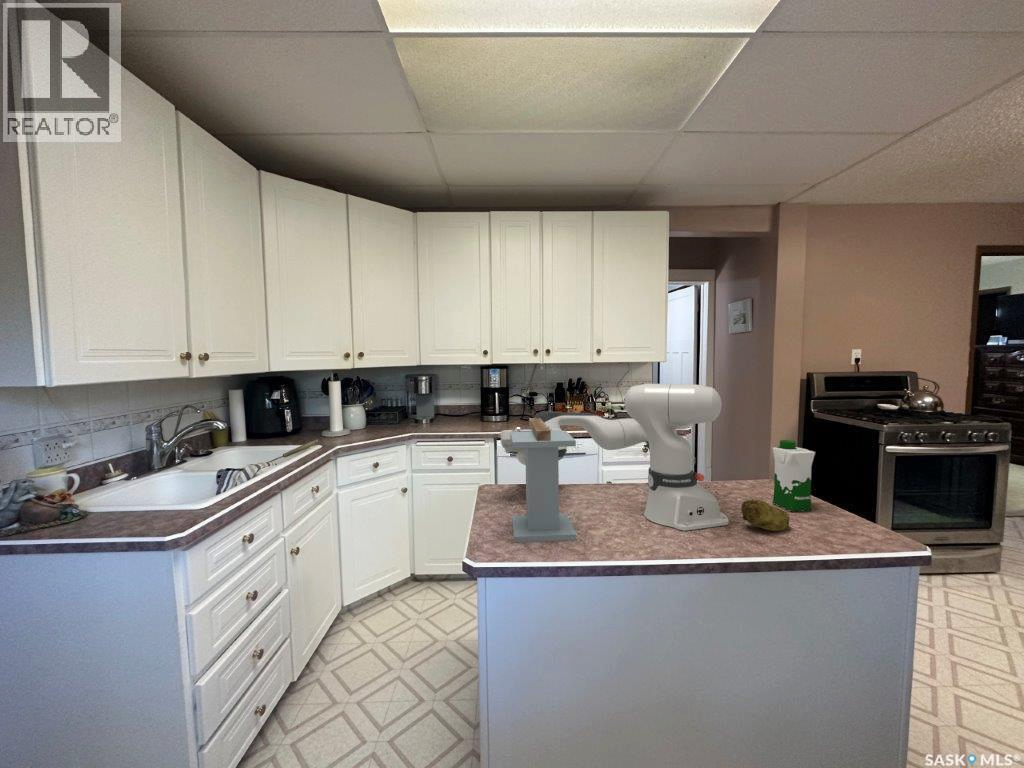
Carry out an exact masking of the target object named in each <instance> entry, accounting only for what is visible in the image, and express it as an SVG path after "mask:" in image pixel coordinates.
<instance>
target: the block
mask: <svg viewBox="0 0 1024 768" xmlns="http://www.w3.org/2000/svg"><path fill="white" fill-rule="evenodd" d="M528 427H529V428H530V429H529V430H532V432H533V434H534V436H535V438H536V440H537V441H549V440H551V431H550V429H549V428H548V427H547V426H546V424H545V423H544V422H543V421H542V419H541V418H534V417H532V418H531V417H529V418H528Z"/></svg>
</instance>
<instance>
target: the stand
mask: <svg viewBox="0 0 1024 768" xmlns="http://www.w3.org/2000/svg"><path fill="white" fill-rule="evenodd" d="M510 437H511V442H512V446H513V448H525V456H526V465H525V501H526V502H525V503H526V505H525V506H526V512H525V513H526V514H517V515H515V514H514V515H511V524H512V531H513V540H514V543H534V542H558V541H559V542H560V541H562V542H563V541H564V542H565V541H577V539H578V538H577V533H576V531H575V529H574V526H573V524H572V522H571V520H570V518H569V516H568V513H567V512H566V513H560V501H559V500H560V491H559V490H560V488H559V486H560V484H559V483H560V482H559V481H560V480H559V477H560V473H559V472H560V471H559V461H558V447H566V448H567V447H569V448H572V447H576V446H577V444H576V443H577V440H576V439H575V438H574V437H573V436H572V435H571V434H570V433H568V432H567V430H562V431H551V440H549V441H537V440H536V438H535V436H534V434H533V432H510Z"/></svg>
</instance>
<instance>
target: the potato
mask: <svg viewBox="0 0 1024 768" xmlns="http://www.w3.org/2000/svg"><path fill="white" fill-rule="evenodd" d="M740 507H741V514H742V520H744V521H746V522H748V523H749V524H750V525H751V526H754V527H758V528H762V529H763V530H765V531H769V532H780V531H783V530H784V531H785V529H787V528H788V526H789V524H790V520H791V519H790V516H789V514H788V513H787V512H785V511H784V509H783V510H782V508H781V509H780V508H778V507H774V506H772V505H771V504H769V503H768V502H766V501H763V500H761V499H754V498H752V499H748V500H745V501H743V503H742V504H741V506H740Z"/></svg>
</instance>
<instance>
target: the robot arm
mask: <svg viewBox="0 0 1024 768" xmlns="http://www.w3.org/2000/svg"><path fill="white" fill-rule="evenodd" d="M623 403H624V408H625V411H626V412H627V414H628V415H629V416H630V417H631V418H618V419H617V418H616V419H606V418H603V417H601V416H600V415H598V414H597V413H593V412H592V413H591V412H562V411H561V412H558V411H552V410H544V411H540V412H537V413H536V414H535V415H534V417H533V418H541V419H542V421H543V422H544V423H545V424H546V426H547V427H548V428H549V429H550V431H563V429H562V428H561V426H571V427H572V426H573V427H574V426H575V427H576V426H578V427H581V428H582V429H584V430H585V432H586V433H588V434H589V436H590V437H591V438H592V440H593V441H594V442H595V443H596V445H598V446H599V447H600V448H602V449H603V450H606V451H614V450H617V451H618V450H621V449H626V448H630V447H633V446H636V445H639V444H641V443H645V444H644V445H642V446H643V448H646V449H648V450H649V467H648V474H647V483H648V488H649V489H648V496H647V501H646V505H645V508H644V513H643V515H644V517H645V518H646V519H647V520H649V521H651V522H652V523H654V524H657V525H661V526H665V527H672V528H674V529H676V530H680V531H684V532H685V531H691V530H692V531H693V530H699V529H707V528H714V527H715V528H716V527H720V526H728V525H729V523H730V522H729V521H730V520H729V518H728V516H727V515H726V514H724V513H723V512H722V511H720V506H719V502H718V500H717V498H716V497H715V496H714V495H713V494H712V493H711V492H709V491H708V490H706V489H705V488H704V487H703V486H702V485H700V484H699V483H698V482H701V483H702V482H703V481H704V480H705V476H704V474H702V473H700V472H696V471H694V470H692V446H691V443H690V442H689V441H688V440H687V439H686V438H685V437H684V436H682V435H680V434H678V431H679V430H681V431H682V430H685V429H688V428H690V427H691V426H692V425H696V424H704V423H712V422H714V421H715V420H716V419H717V418H718V417H719V416H720V413H721V411H722V403H723V402H722V399H721V396H720V394H719V393H718V391H717V390H716V389H715V388H714V387H711V386H706V385H703V384H702V385H701V384H694V383H693V384H692V383H689V384H687V383H685V384H684V383H641V384H636V385H632V386H631V387H630V388H629V389H628V390H627V392H626V393H625V396H624V402H623ZM510 432H532V430H531V429H521V427H518V426H517V427H515V428H514V429H504V430H501V431H500V444H501V447H502V448H503V449H504V453H506V454H513V455H515V456H516V458H517V461H518V462H519V463H520V464H522V465H523V466H526V456H525V448H513V446H512V442H511V437H510ZM567 451H568V449H567V447H558V462H559V461H560V460H562V459H563V458H564V456H565V455H566V453H567Z"/></svg>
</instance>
